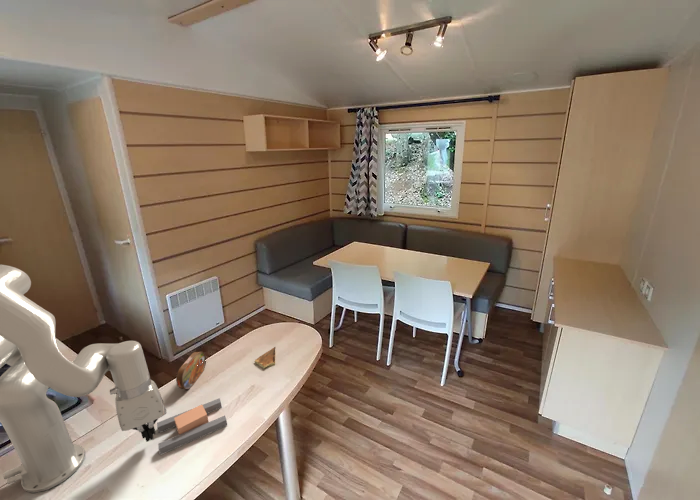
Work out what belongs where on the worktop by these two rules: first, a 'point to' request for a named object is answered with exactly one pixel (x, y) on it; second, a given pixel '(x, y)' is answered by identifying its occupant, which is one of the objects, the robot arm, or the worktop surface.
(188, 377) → the tin
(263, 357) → the shard
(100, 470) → the worktop surface
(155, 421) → the robot arm
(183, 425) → the block
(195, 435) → the chute
